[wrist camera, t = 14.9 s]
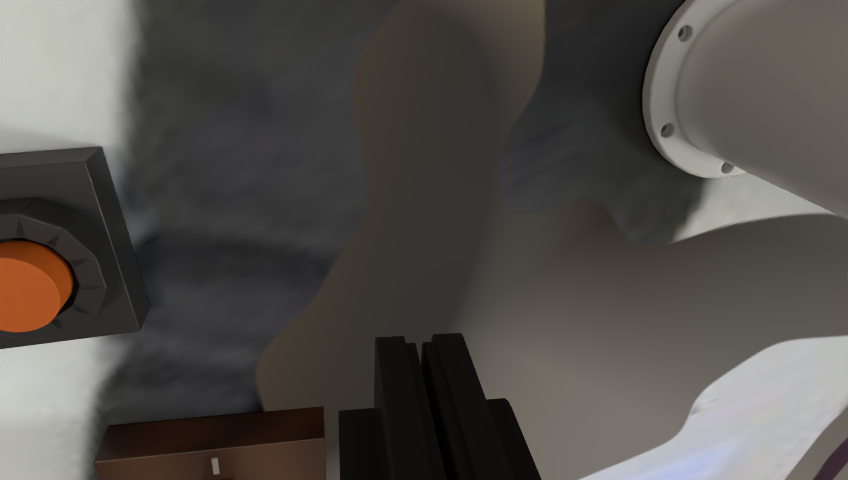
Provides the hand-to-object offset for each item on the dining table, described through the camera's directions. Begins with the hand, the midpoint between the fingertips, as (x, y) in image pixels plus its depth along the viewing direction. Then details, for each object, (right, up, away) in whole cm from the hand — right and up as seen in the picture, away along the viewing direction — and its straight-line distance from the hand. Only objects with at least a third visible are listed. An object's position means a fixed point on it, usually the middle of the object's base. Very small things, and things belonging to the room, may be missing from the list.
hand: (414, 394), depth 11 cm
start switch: (-19, +1, +16) cm, 25 cm away
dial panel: (-14, -14, +29) cm, 35 cm away
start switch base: (-23, +3, +19) cm, 30 cm away
